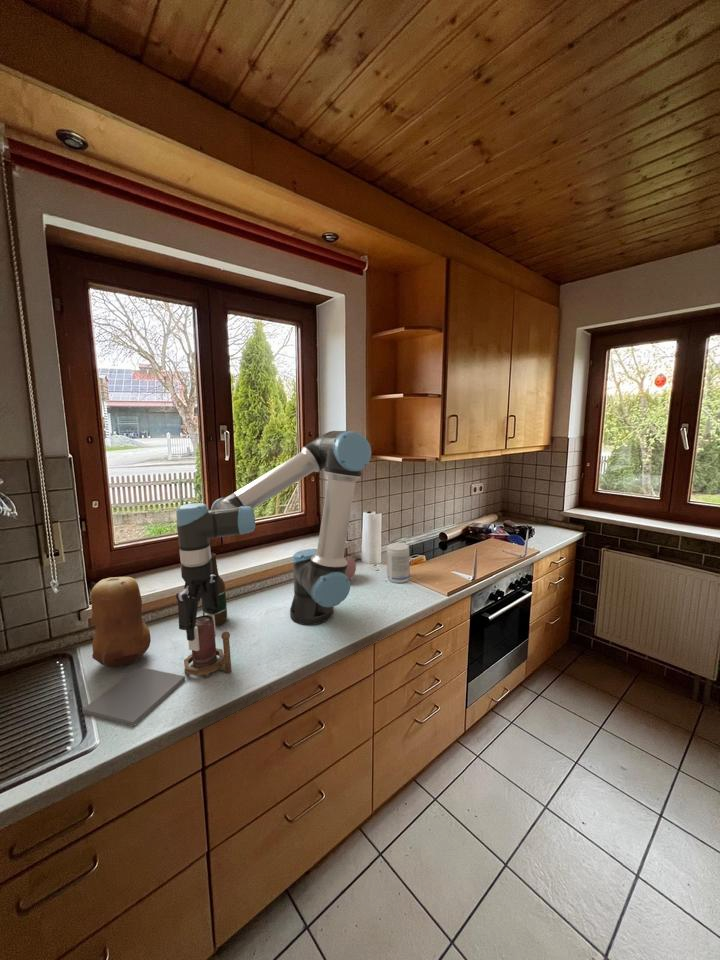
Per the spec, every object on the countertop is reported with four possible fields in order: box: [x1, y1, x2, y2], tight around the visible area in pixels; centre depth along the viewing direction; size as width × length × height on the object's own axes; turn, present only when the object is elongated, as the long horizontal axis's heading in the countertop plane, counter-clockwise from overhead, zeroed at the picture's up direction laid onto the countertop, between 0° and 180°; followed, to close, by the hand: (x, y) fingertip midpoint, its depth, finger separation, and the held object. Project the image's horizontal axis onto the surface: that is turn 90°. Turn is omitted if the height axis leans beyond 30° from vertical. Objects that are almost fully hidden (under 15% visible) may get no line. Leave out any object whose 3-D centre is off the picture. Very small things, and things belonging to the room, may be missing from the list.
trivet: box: [81, 666, 186, 727], centre depth 94 cm, size 15×16×1 cm
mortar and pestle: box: [345, 557, 357, 580], centre depth 161 cm, size 12×12×12 cm
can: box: [190, 615, 218, 669], centre depth 104 cm, size 6×6×14 cm
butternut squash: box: [90, 576, 152, 668], centre depth 106 cm, size 14×13×25 cm
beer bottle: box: [201, 552, 228, 627], centre depth 128 cm, size 8×8×24 cm
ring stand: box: [183, 631, 232, 679], centre depth 104 cm, size 14×10×12 cm
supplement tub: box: [386, 542, 411, 584], centre depth 161 cm, size 10×10×15 cm
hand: (203, 642), depth 104 cm, fingers closed on can, 6 cm apart
